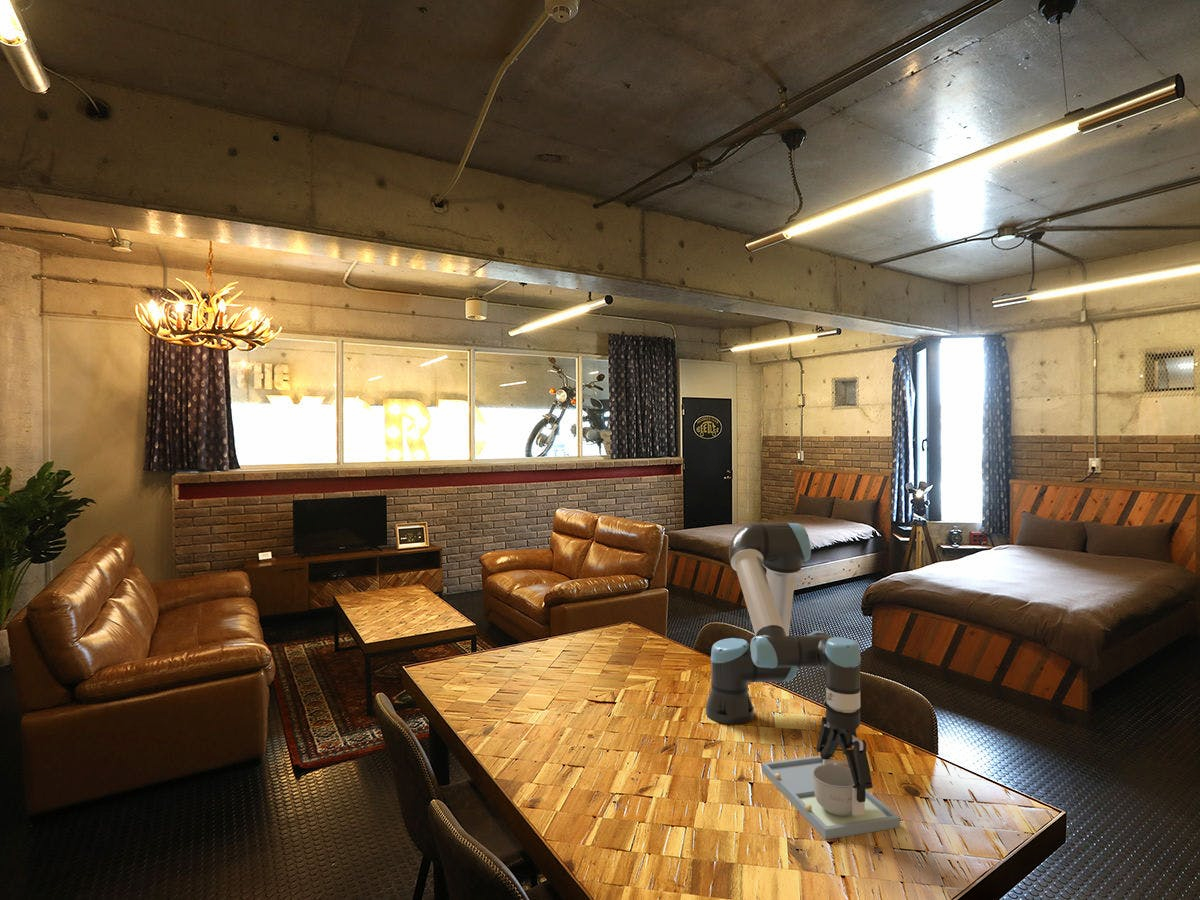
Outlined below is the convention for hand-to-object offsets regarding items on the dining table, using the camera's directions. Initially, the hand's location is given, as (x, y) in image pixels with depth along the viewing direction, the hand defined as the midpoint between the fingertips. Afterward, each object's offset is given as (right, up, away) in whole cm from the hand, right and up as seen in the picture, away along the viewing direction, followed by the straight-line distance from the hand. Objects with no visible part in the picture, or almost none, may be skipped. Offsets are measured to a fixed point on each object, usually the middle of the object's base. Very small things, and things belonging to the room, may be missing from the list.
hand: (842, 799), depth 145 cm
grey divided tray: (-2, -3, +7) cm, 8 cm away
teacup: (0, -2, 0) cm, 2 cm away
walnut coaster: (+10, -4, +20) cm, 23 cm away
